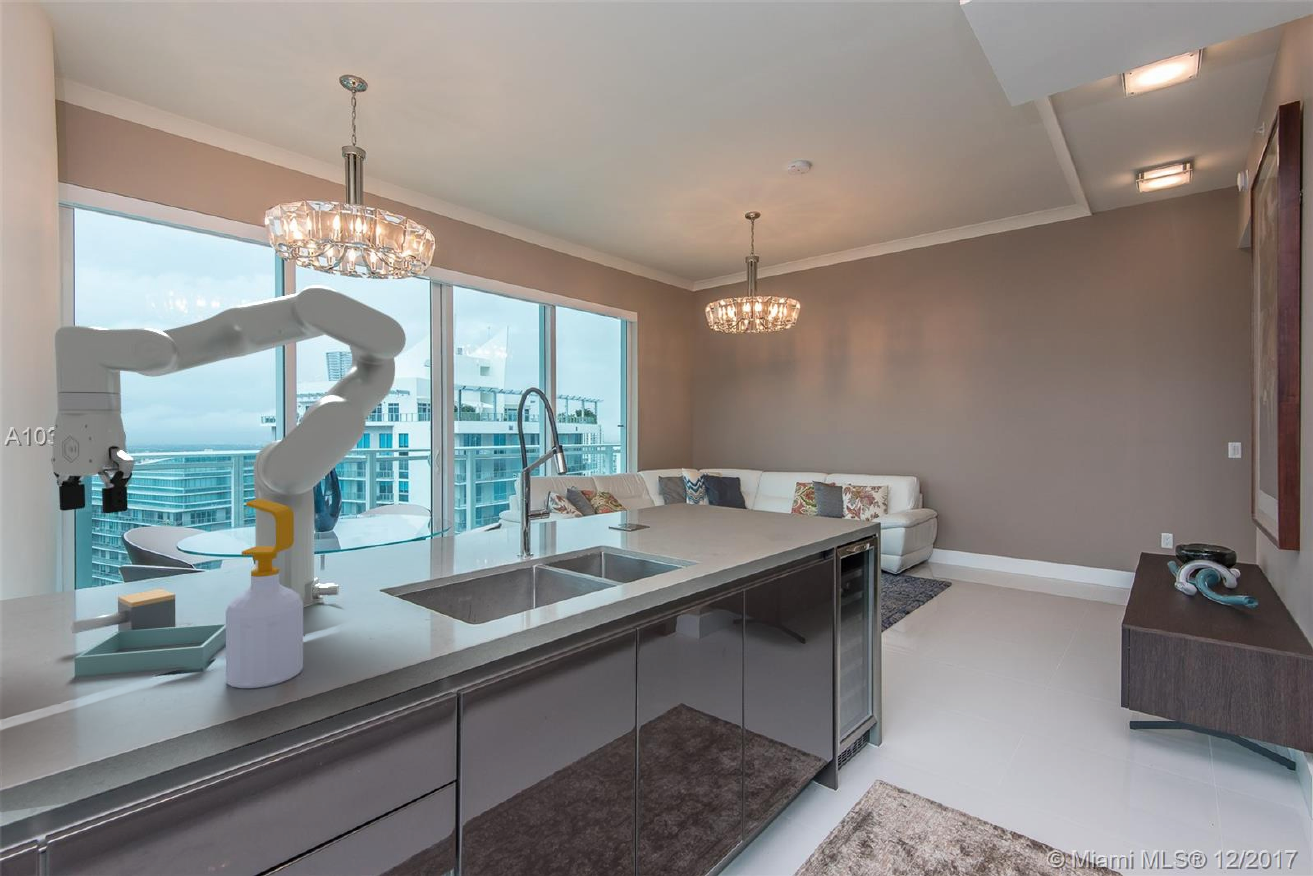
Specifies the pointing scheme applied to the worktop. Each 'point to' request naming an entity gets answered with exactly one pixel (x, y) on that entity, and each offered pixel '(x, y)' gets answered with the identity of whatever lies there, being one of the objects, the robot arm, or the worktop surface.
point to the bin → (196, 658)
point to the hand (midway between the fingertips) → (93, 510)
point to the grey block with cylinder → (135, 613)
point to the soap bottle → (265, 616)
